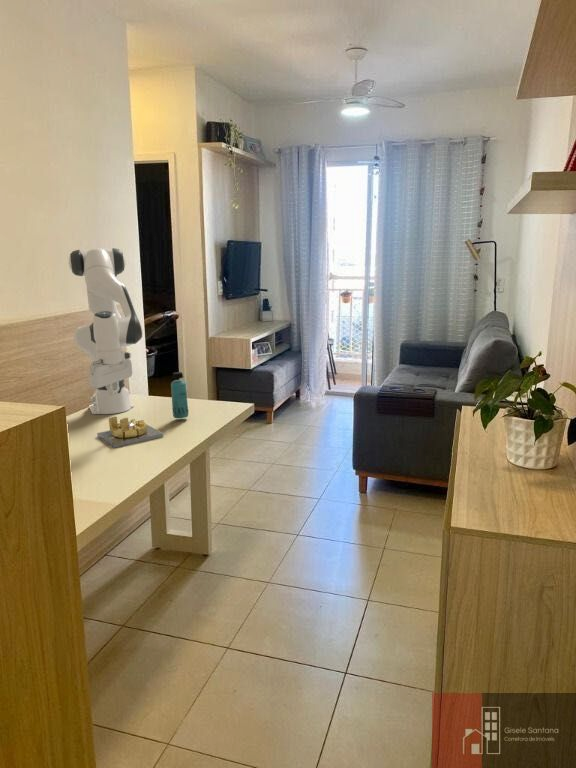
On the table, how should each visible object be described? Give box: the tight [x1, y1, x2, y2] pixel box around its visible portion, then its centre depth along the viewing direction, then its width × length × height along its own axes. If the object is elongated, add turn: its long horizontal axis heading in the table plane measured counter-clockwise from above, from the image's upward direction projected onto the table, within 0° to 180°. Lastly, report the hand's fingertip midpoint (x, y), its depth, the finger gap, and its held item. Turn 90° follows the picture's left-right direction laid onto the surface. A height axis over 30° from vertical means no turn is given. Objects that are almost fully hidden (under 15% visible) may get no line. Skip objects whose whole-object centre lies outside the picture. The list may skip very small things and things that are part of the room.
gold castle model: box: [96, 421, 164, 449], centre depth 213 cm, size 18×19×5 cm
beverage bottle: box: [170, 371, 190, 419], centre depth 232 cm, size 6×7×20 cm
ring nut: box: [108, 416, 147, 438], centre depth 212 cm, size 13×12×7 cm
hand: (113, 394), depth 206 cm, fingers closed
